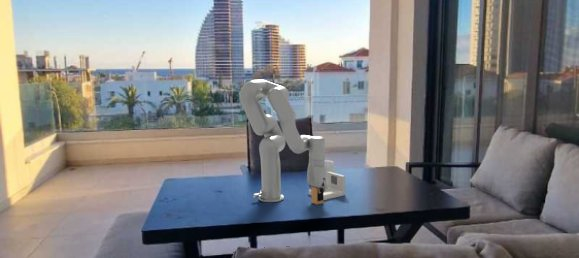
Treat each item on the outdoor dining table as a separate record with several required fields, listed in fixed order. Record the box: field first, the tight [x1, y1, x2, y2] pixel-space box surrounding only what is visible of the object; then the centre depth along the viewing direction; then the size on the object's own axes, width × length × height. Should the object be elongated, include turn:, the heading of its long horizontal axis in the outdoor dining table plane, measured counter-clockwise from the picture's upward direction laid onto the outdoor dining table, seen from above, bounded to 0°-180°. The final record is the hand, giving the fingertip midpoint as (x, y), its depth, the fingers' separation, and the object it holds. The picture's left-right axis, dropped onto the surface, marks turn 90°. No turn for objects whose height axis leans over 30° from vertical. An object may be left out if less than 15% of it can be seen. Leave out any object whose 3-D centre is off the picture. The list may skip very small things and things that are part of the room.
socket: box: [308, 171, 346, 201], centre depth 225 cm, size 14×12×10 cm
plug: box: [310, 186, 324, 205], centre depth 213 cm, size 4×4×10 cm
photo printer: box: [325, 159, 335, 175], centre depth 251 cm, size 10×4×12 cm, turn 98°
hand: (317, 199), depth 213 cm, fingers closed on plug, 4 cm apart
